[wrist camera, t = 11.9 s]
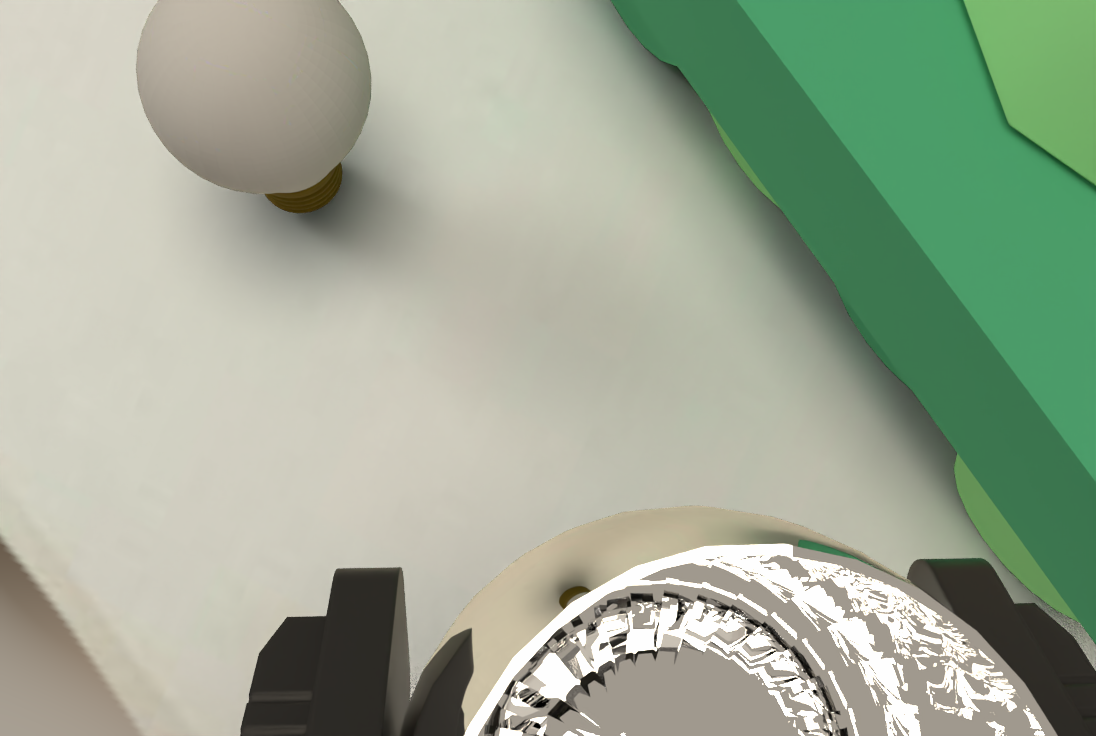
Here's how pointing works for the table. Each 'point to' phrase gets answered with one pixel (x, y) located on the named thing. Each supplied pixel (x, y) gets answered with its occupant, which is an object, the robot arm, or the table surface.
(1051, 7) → the toy tank
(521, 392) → the table surface
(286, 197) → the light bulb
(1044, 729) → the wineglass
